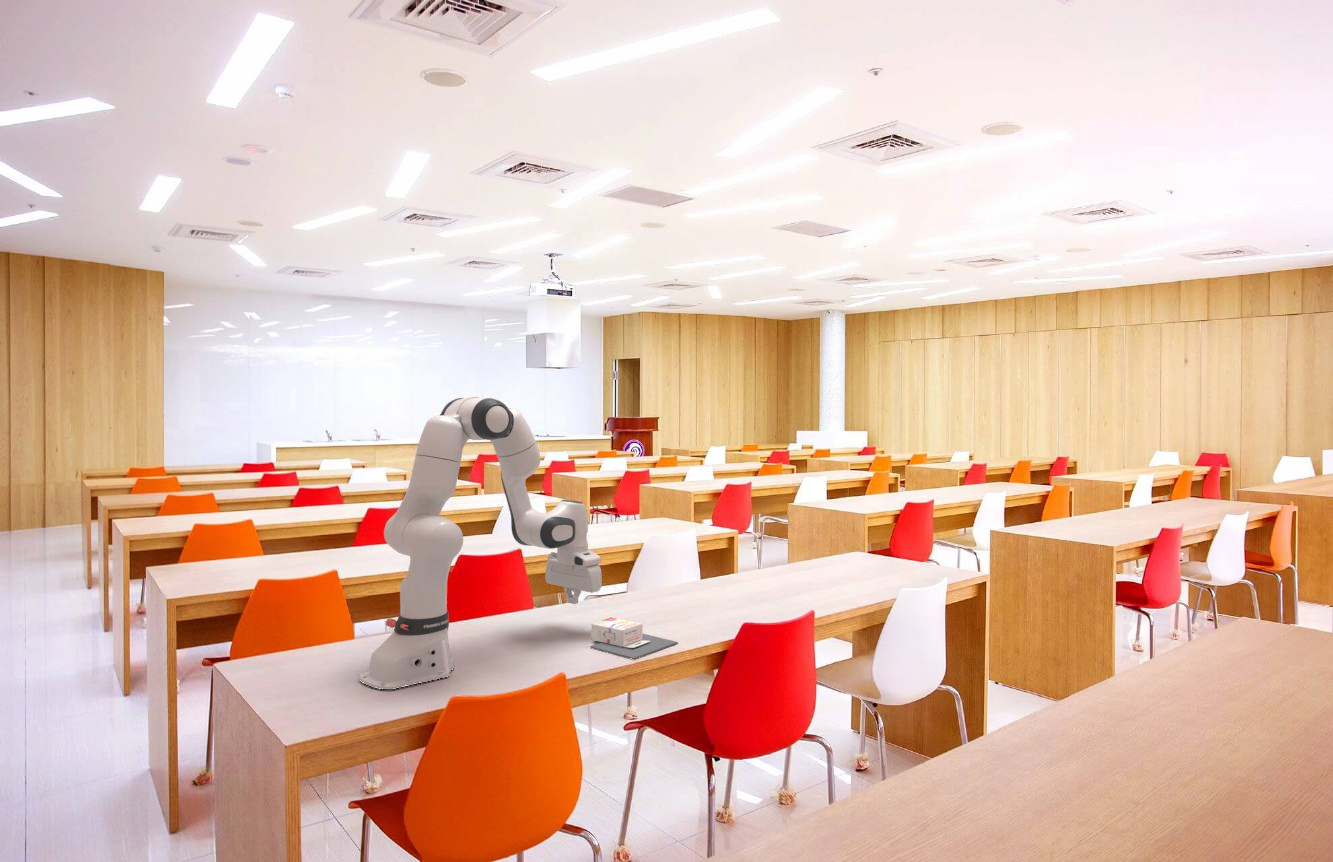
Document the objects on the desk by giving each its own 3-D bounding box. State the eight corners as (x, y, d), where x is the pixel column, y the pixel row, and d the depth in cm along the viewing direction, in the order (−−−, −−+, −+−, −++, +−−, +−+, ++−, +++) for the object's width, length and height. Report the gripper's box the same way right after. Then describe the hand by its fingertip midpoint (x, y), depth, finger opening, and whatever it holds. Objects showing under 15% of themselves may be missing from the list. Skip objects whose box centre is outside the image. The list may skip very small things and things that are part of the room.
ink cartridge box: (610, 616, 232) (651, 624, 223) (610, 633, 232) (651, 642, 223) (590, 622, 225) (632, 631, 216) (590, 640, 225) (632, 650, 216)
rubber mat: (634, 659, 210) (634, 658, 210) (590, 648, 220) (590, 646, 220) (677, 643, 224) (677, 642, 224) (634, 633, 234) (634, 631, 234)
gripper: (540, 552, 239) (540, 599, 240) (589, 561, 226) (589, 610, 227) (556, 549, 244) (556, 595, 244) (605, 558, 231) (605, 606, 231)
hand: (572, 603), depth 235 cm, fingers closed
